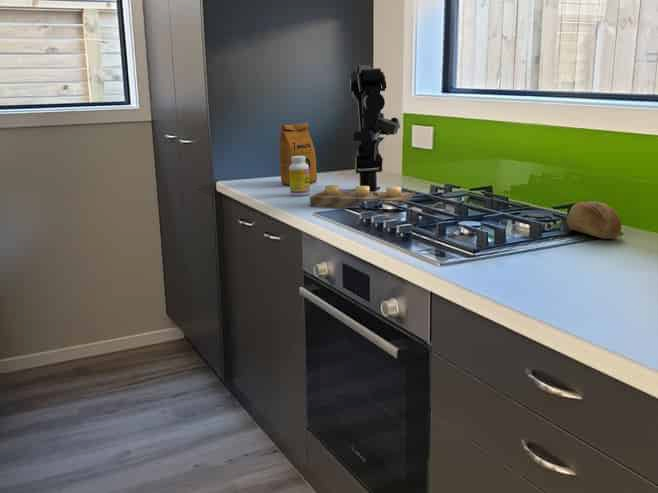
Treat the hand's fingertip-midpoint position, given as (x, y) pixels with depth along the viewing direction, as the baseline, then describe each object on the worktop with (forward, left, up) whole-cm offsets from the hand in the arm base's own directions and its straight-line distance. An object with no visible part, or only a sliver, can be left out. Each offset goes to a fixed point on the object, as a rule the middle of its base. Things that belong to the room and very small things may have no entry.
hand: (372, 160), depth 217 cm
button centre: (+10, 0, -12) cm, 15 cm away
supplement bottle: (-2, -27, -12) cm, 30 cm away
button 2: (+10, +10, -12) cm, 18 cm away
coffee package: (-22, -37, -12) cm, 45 cm away
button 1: (+10, -10, -12) cm, 18 cm away
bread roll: (+34, +67, -12) cm, 76 cm away
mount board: (+10, 0, -12) cm, 16 cm away
